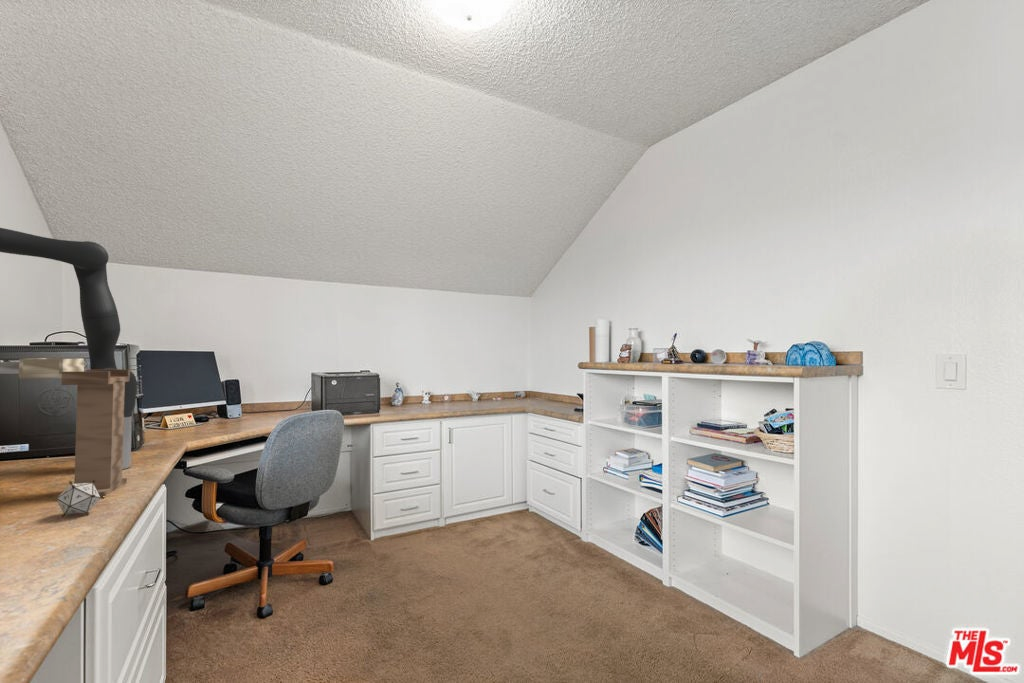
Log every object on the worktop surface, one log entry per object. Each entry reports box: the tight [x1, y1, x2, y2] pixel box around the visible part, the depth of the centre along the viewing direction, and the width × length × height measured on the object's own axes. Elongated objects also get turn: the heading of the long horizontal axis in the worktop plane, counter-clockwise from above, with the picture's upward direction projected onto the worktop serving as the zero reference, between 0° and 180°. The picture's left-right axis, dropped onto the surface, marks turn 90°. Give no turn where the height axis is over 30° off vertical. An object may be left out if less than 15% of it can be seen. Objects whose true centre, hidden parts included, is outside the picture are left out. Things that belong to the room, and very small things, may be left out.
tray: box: [0, 357, 85, 379], centre depth 131 cm, size 12×18×5 cm
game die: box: [51, 479, 106, 518], centre depth 117 cm, size 9×8×10 cm
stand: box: [57, 369, 131, 497], centre depth 136 cm, size 15×10×34 cm, turn 21°
